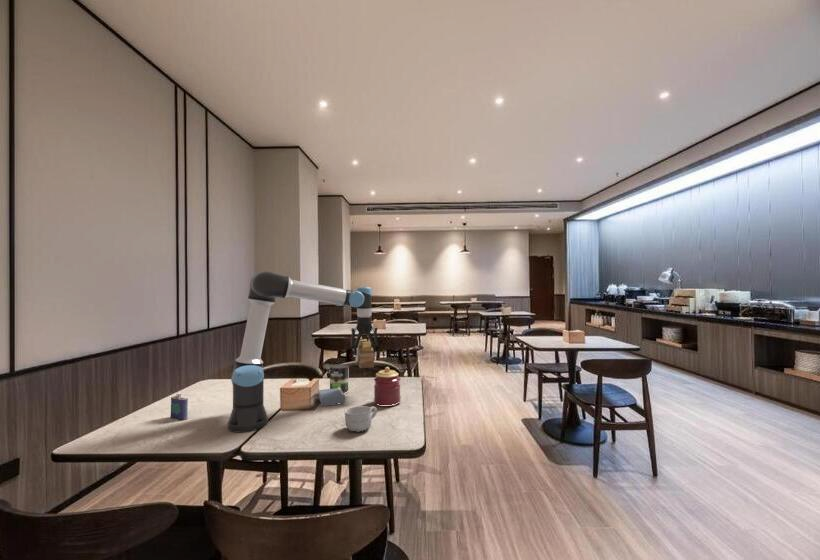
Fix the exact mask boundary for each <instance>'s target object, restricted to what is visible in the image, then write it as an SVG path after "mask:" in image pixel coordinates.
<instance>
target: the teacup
mask: <svg viewBox="0 0 820 560" xmlns="http://www.w3.org/2000/svg"><path fill="white" fill-rule="evenodd" d="M372 410H374V411H373V414H372ZM377 413H378V409H377V407H375V406H366V405H365V406H364V405H358V406H357V405H356V406H351V407H349V408H347V409H345V410H344V420H345V421H344V423H345V426H346V429H348V430H349V431H350V430H351V431H350V432H352V431H362V432H364V431H363V430H365V431H366V429H367V428H368V429H369V428H370V427H371V425H372V420H374V418H375V417H376V415H377ZM368 429H367V430H368Z"/></svg>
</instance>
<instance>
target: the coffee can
mask: <svg viewBox="0 0 820 560" xmlns="http://www.w3.org/2000/svg"><path fill="white" fill-rule="evenodd" d="M349 368H350V366H349V365H348V364H342V363H339V364H332V365H329V389H335V388H339V387H340V389H341V390H342V392H343V393H345V392H347V391H348V390H349V388H350V387H349V385H350V384H349V383H350V382H349V381H350V378H349V376H350V375H349V374H350V372H349V371H350V369H349ZM349 391H350V390H349Z"/></svg>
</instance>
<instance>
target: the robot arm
mask: <svg viewBox="0 0 820 560" xmlns="http://www.w3.org/2000/svg"><path fill="white" fill-rule="evenodd" d="M372 295H373V294H372V288H371V287H370V286H365V287H364V286H359V287H357V289H356V290H350V289H345V288H340V287H335V286H329V285H324V284H319V283H318V284H317V283H312V282H308V281H307V282H306V281H300V280H295V279H291V277H290V276H287V275H281V274H278V273H275V272H271V271H260V272H258V273H256V274H255V275H253V276H252V277H251V279H250V282H249V292H248V295H247V296H248V297H247V300H248V301H249V303H250V306H249V309H248V313H247V314H248V315H247V320H246V325H245V330H244V336H243V341H242V345H241V350H240V355H239V356H238V357H237V358H236V359H235V362H234V366H233V369H232V372H231V376H230V378H231V384H232V409H231V412H230V416H229V417H228V422H227V429H228V431H230V430H231V431H230V432H233V431H236V432H235V433H245V432H244V431H246V432H251V431H250V430H252V431H255V429H256V430H259V429H262V428H265V426H267V425H268V423H269V417H268V414H267V411H266V407H265V405H264V403H265V402H264V397H265V396H264V385H265V384H264V378H265V373H264V368H263V366H264V365H263V364H264V361H263V360H262V352H263V347H264V341H265V337H266V331H267V327H268V326H267V325H268V321H269V316H270V315H269V314H270V311H271V307H272V306H273V305H274V304H275V303H276V298H279V299H280V298H281V299H287V298H288V297H290V298H297V299H301V300H308V301H315V302H321V303H328V304H333V305H335V306H337V307H343V306H344V307H345V306H346V307H352V308H356V316H357V318H356V327H354V328H351V329H350V331H351V337H350V345H349V346H350V348H352V349H353V355H354V356H355V355H356V362H358V348H357V347H358V344H359V341H360V340H361V338H362V336H363V335H366V336H367V338H368V340H369V341H368V342H371V349H372V350H374V354H376V353H375V352H376V348H377V347H378V346H379V339H378V327H376V326H373V325H372V322H373V320H372V319H373V318H372V313H373V312H372V303H373V301H372V299H373V297H372ZM371 331H372V333H373V337H372V333H371ZM356 332H358V334H357V337H355V335H356ZM355 338H356V340H355ZM373 338H374V339H373ZM238 431H239V432H238Z"/></svg>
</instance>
